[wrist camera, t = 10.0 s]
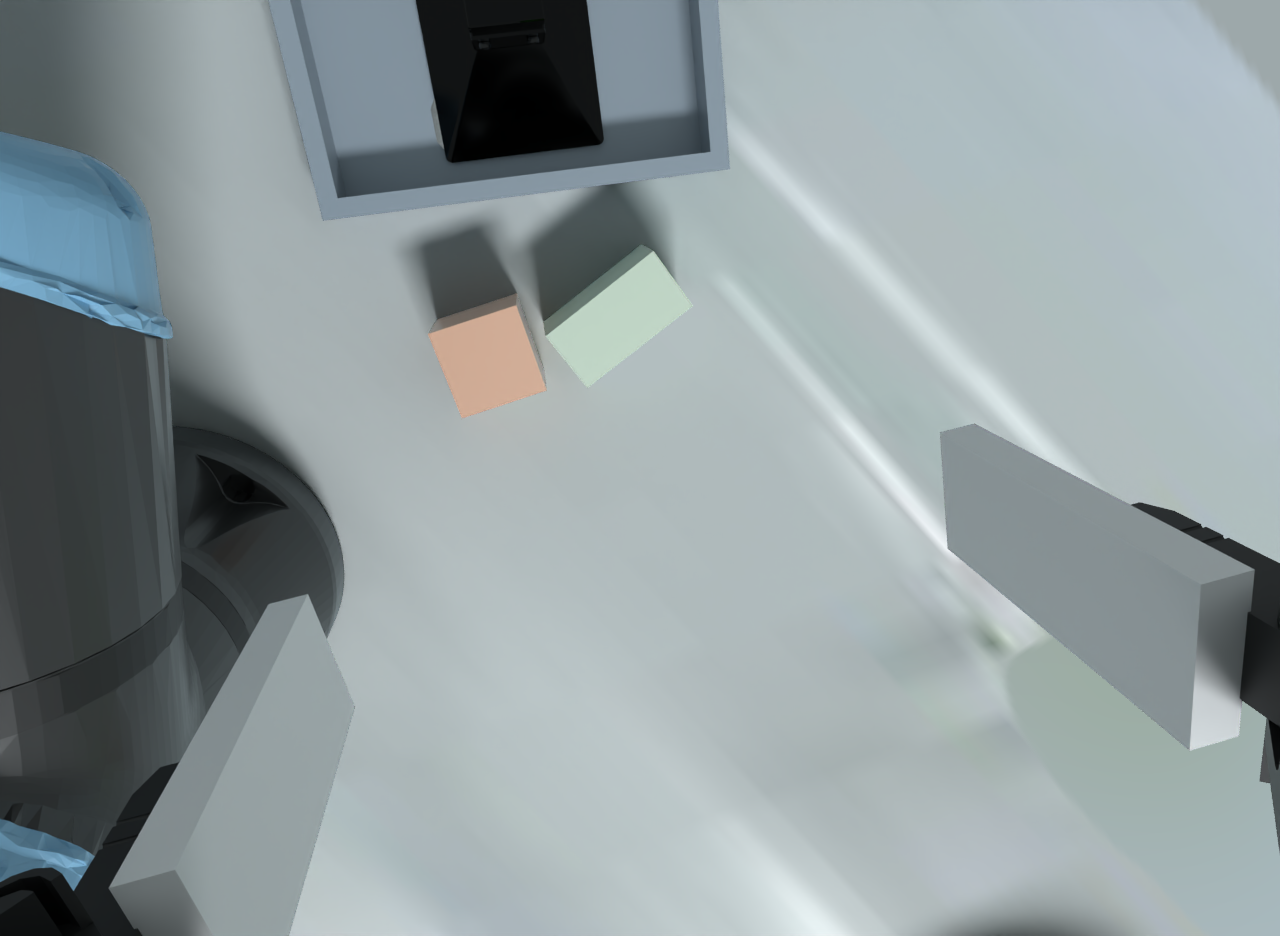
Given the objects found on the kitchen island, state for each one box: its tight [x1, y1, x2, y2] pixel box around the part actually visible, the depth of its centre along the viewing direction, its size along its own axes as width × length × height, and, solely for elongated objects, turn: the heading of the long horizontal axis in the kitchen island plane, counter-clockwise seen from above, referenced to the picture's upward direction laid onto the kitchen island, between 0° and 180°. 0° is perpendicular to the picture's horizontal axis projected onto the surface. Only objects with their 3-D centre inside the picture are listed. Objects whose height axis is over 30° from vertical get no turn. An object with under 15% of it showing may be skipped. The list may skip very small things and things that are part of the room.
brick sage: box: [544, 244, 693, 388], centre depth 37 cm, size 6×3×4 cm, turn 127°
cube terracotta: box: [428, 293, 547, 418], centre depth 37 cm, size 4×4×4 cm
